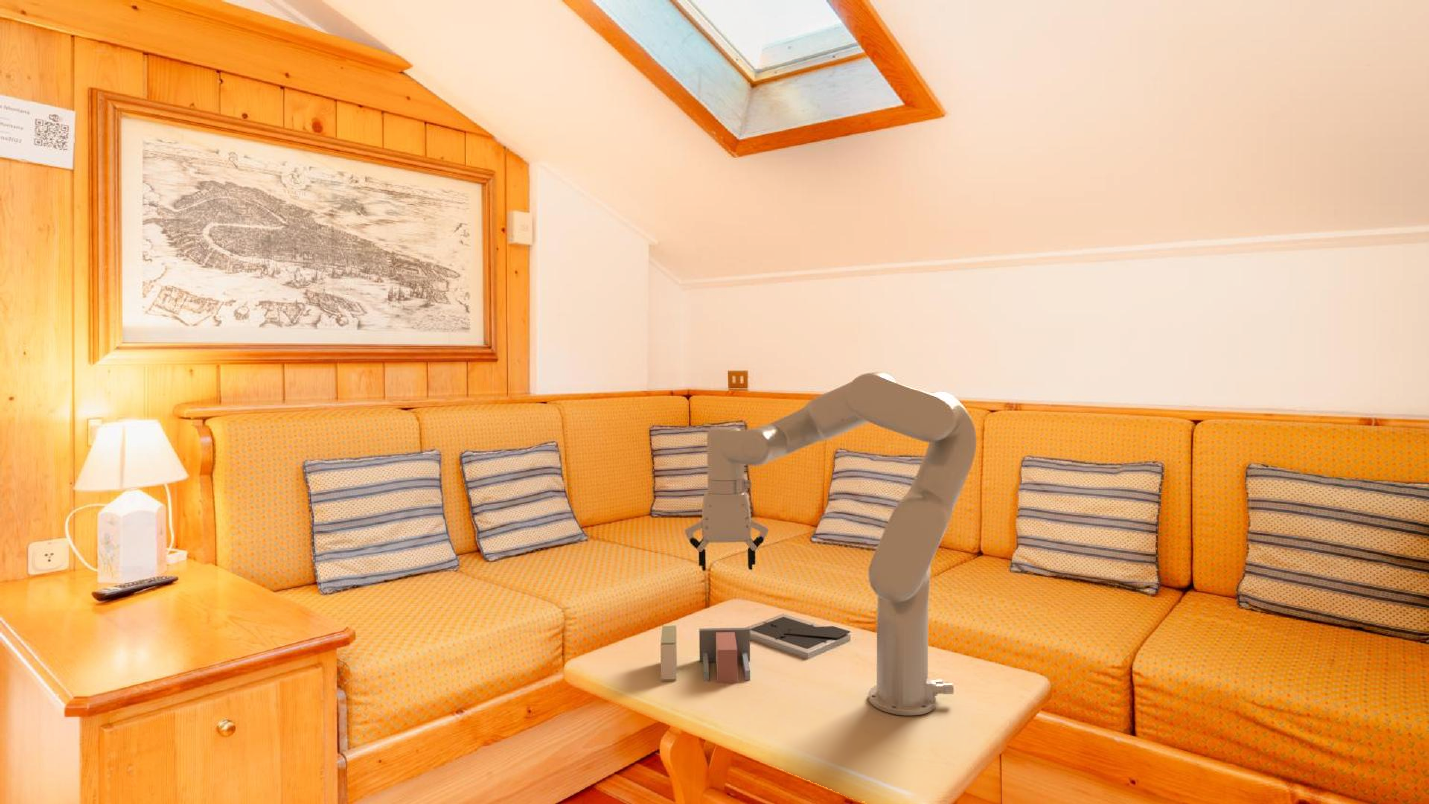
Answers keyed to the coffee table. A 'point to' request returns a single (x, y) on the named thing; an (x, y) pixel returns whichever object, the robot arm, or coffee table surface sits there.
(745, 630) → the shelf slot
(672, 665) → the olive rectangular block
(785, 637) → the picture frame
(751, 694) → the coffee table surface
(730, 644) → the reddish pink rectangular block
